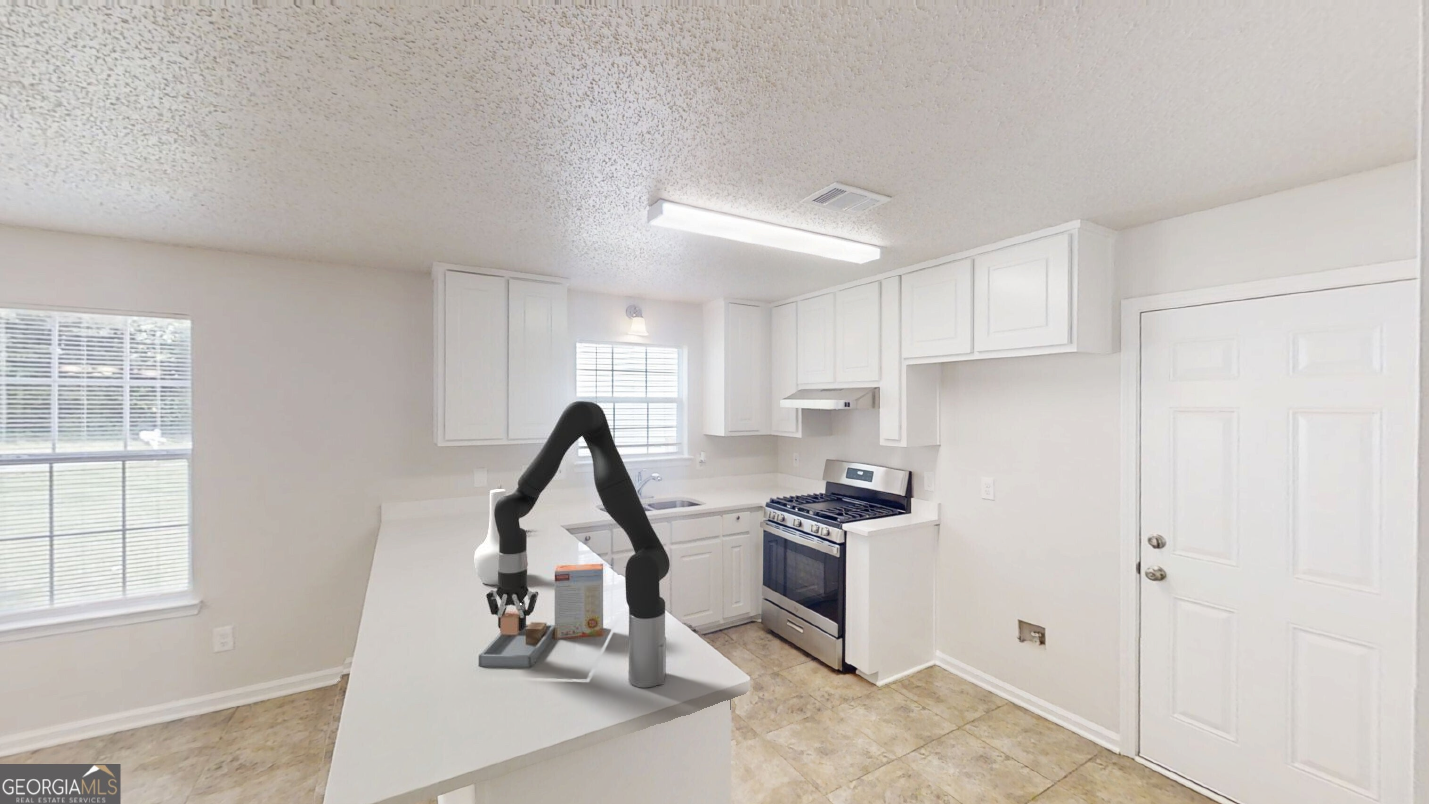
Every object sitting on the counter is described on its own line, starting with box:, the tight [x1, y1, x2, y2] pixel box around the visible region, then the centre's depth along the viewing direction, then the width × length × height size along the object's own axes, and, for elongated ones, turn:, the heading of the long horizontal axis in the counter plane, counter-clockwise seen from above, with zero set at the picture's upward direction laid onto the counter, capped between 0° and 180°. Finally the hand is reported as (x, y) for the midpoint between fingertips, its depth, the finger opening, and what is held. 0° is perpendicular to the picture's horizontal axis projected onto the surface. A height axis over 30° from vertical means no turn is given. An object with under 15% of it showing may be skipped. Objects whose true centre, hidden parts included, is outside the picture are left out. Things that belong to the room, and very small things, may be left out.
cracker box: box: [554, 563, 604, 639], centre depth 164 cm, size 14×6×21 cm, turn 99°
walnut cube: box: [526, 621, 547, 645], centre depth 158 cm, size 4×4×4 cm
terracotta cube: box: [499, 610, 520, 635], centre depth 148 cm, size 4×4×4 cm
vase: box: [473, 488, 507, 586], centre depth 212 cm, size 17×17×35 cm
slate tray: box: [478, 623, 555, 668], centre depth 154 cm, size 14×20×4 cm
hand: (512, 629), depth 149 cm, fingers closed on terracotta cube, 4 cm apart
